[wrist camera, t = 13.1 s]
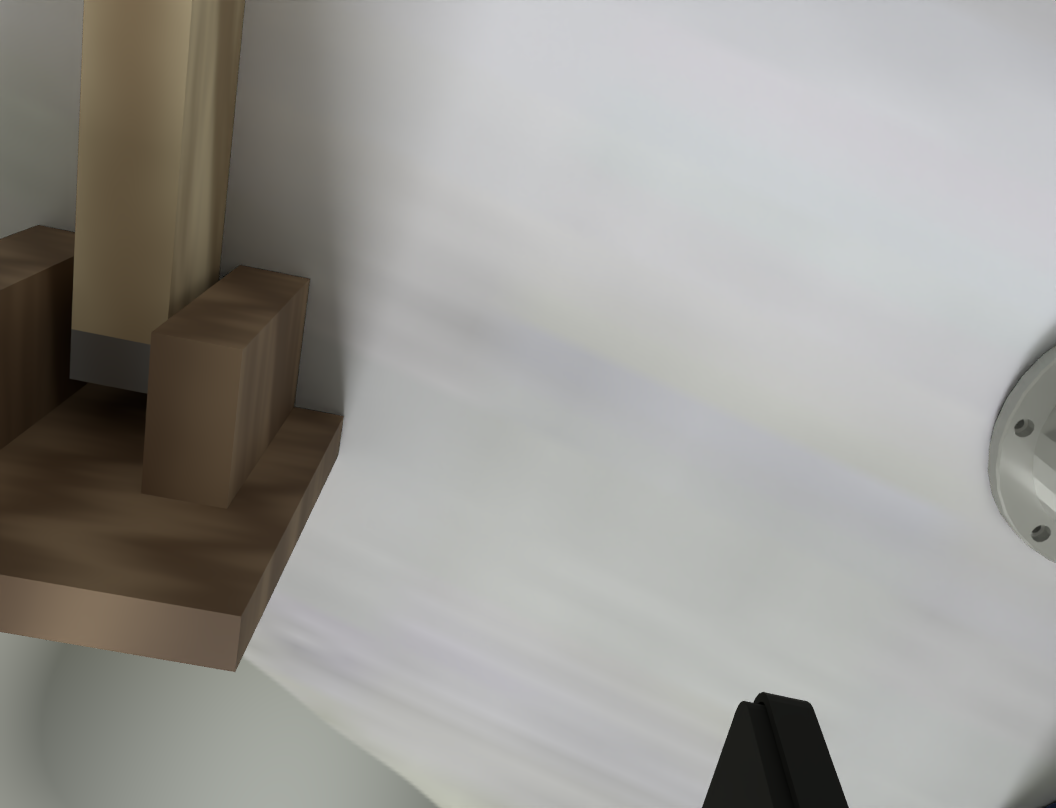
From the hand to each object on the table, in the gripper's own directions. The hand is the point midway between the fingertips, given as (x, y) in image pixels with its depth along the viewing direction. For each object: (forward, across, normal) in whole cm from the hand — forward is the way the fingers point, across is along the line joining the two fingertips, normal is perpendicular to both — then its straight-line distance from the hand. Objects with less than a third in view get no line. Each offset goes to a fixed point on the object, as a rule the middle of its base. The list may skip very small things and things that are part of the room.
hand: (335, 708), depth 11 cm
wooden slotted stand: (+30, +14, +8) cm, 34 cm away
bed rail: (+30, +14, -3) cm, 33 cm away
